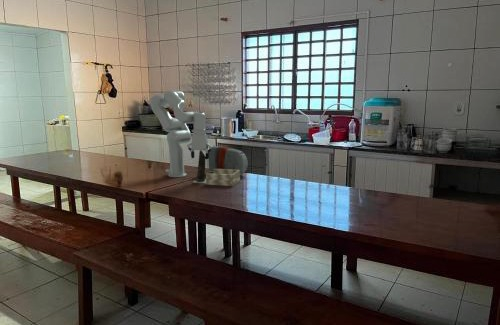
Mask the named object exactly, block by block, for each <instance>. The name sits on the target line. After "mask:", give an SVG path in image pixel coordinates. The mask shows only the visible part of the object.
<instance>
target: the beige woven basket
mask: <svg viewBox="0 0 500 325" xmlns="http://www.w3.org/2000/svg"><path fill="white" fill-rule="evenodd" d="M212 172H213V173H205V179H206V183H205V185H207V186H209V185H210V186H229V187H235V185H237V183H238V184H239V182H240V181H241V175H240V170H230V169H213V171H212Z"/></svg>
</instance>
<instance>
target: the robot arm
mask: <svg viewBox="0 0 500 325" xmlns="http://www.w3.org/2000/svg"><path fill="white" fill-rule="evenodd" d="M149 103H150V108H151V111H152V112H153V113H154V115H155V116H156V118H157V119H158V121H159V123H160V124H161V126H162V128H163V130H164V131H165V132H167V134H166V141H167V144H168V151H169V152H168V154H169V167H170V168H169V169H168V168H167V169H165V170H164V171H165V173H168V177H169V178H182V177H183V178H184V177H187V172H185V160H184V149H183V147H182V144H186V147H187V149H188V150H189V152H190V157H191V159H194V158H195V151H200V150H201V151H204V152H205V157H206V159H205V160H208V158H209V152H210V151H211V150H212V148H213V146H214V145H211V144H210V143H209V141H208V134H207V133H206V128H207V127H206V114H205V112H200V111H196V110H195V111H183V109H184V108H185V106H186V102H185V94H184V92H183V91H181V90H167V91H165V92H164V93H163V94H155V95H154V94H153V96H151V97H150V100H149ZM165 107H171V108H172V109H173V114H174V117H172V116H171V114H170V112H169V111H168V110H167V109H166V108H165ZM188 124H193V129H191V131H190V129H189V127H188V126H187V125H188ZM191 133H193V134H191ZM209 147H210V149H209Z"/></svg>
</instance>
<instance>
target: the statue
mask: <svg viewBox="0 0 500 325" xmlns="http://www.w3.org/2000/svg"><path fill="white" fill-rule="evenodd" d="M206 160H207V159H206V154H205V153H204V152H203V150H199V153H198V163H197V164H198V165H197V175H196V176H197V177H195V179H194V181H195V180H196V181H197V182H204V181H205V179H206V177H205V176H206V173H205V172H206Z"/></svg>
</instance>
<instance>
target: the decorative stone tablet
mask: <svg viewBox="0 0 500 325" xmlns="http://www.w3.org/2000/svg"><path fill="white" fill-rule="evenodd" d="M212 146H213V148H212V150H211V151H210V152H209V158H208V159H207V160H208V161H207V162H208V163H207V164H208V166H207V167H208V171H210V172H213V169H230V170H240V176H241V175H243V174H244V173H245V172H246V171H247V168H248V165H249V162H248V156H246V154H245V153H244V152H243V151H242V150H239V149H236V148H230V147H226V146H218V145H212ZM209 149H210V147H209V146H208V150H209Z"/></svg>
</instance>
